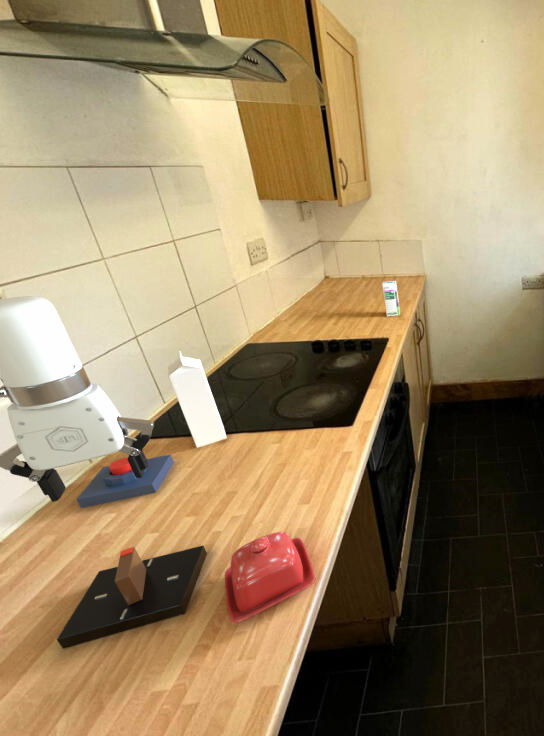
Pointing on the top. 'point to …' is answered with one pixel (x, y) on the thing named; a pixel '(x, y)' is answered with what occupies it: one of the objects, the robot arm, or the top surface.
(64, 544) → the top surface
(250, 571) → the butter dish
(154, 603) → the panel
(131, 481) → the button box
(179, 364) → the milk
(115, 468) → the button
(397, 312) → the syrup box
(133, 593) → the dial knob
